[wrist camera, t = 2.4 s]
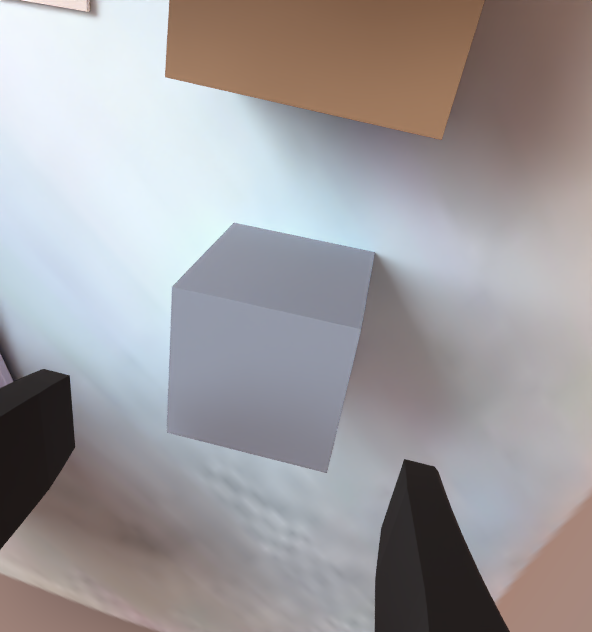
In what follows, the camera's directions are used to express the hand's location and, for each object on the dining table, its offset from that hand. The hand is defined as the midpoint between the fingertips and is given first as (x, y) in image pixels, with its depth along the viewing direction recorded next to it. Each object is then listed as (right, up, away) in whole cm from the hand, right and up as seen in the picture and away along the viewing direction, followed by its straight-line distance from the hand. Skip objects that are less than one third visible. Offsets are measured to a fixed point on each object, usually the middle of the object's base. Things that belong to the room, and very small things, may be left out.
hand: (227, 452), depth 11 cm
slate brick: (+1, +3, +7) cm, 7 cm away
